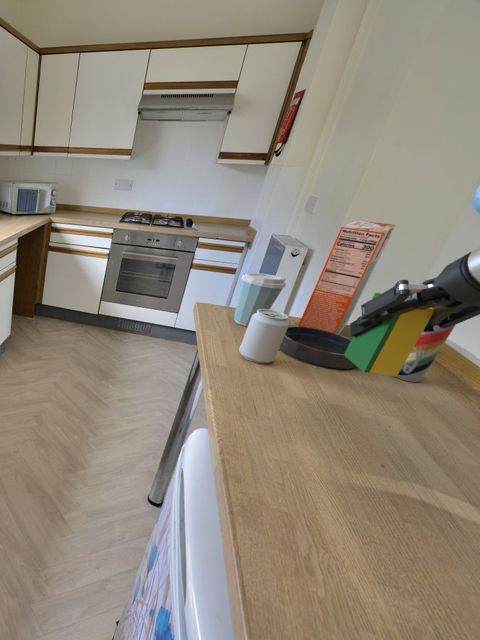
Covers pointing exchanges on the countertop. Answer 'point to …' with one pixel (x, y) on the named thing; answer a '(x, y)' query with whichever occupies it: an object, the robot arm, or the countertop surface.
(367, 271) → the cereal box
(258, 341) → the can
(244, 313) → the disposable coffee cup
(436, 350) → the striped water bottle
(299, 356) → the bowl
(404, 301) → the robot arm
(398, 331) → the sponge
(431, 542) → the countertop surface
